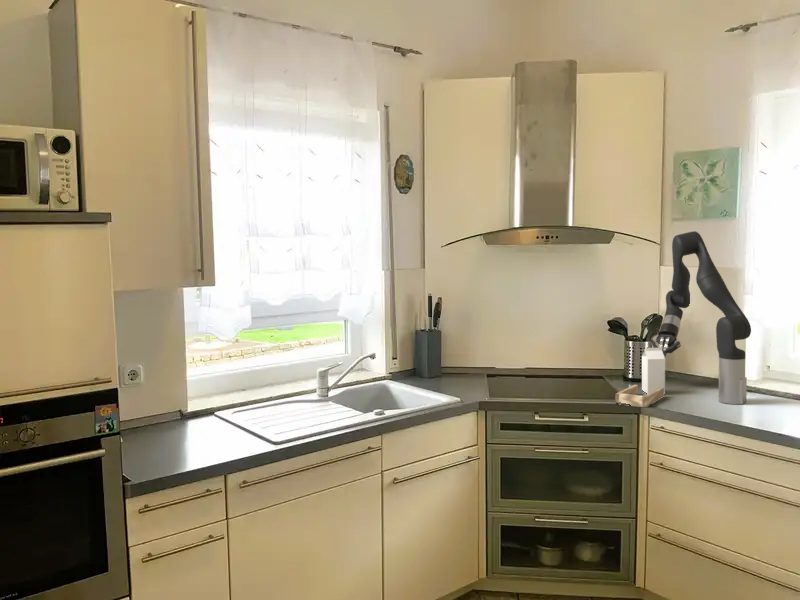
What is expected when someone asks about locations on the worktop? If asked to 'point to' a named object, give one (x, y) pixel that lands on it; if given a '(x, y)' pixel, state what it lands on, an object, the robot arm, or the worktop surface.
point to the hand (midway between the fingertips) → (660, 359)
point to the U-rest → (636, 400)
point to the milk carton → (653, 369)
